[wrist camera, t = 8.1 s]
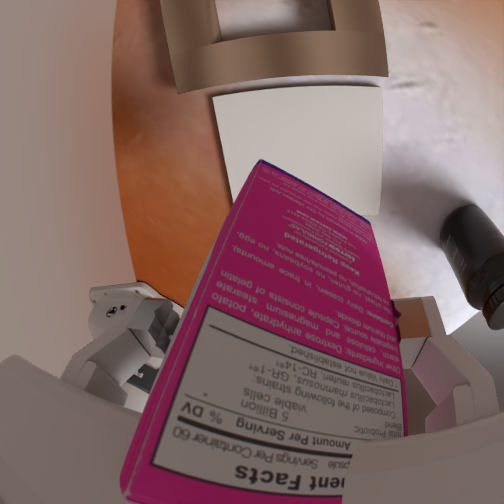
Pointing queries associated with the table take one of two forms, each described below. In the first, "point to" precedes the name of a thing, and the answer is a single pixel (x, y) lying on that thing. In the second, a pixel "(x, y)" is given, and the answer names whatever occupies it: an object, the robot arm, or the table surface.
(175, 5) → the walnut holder
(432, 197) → the table surface
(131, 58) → the table surface
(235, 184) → the white rectangular plate
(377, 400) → the supplement box
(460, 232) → the supplement bottle
